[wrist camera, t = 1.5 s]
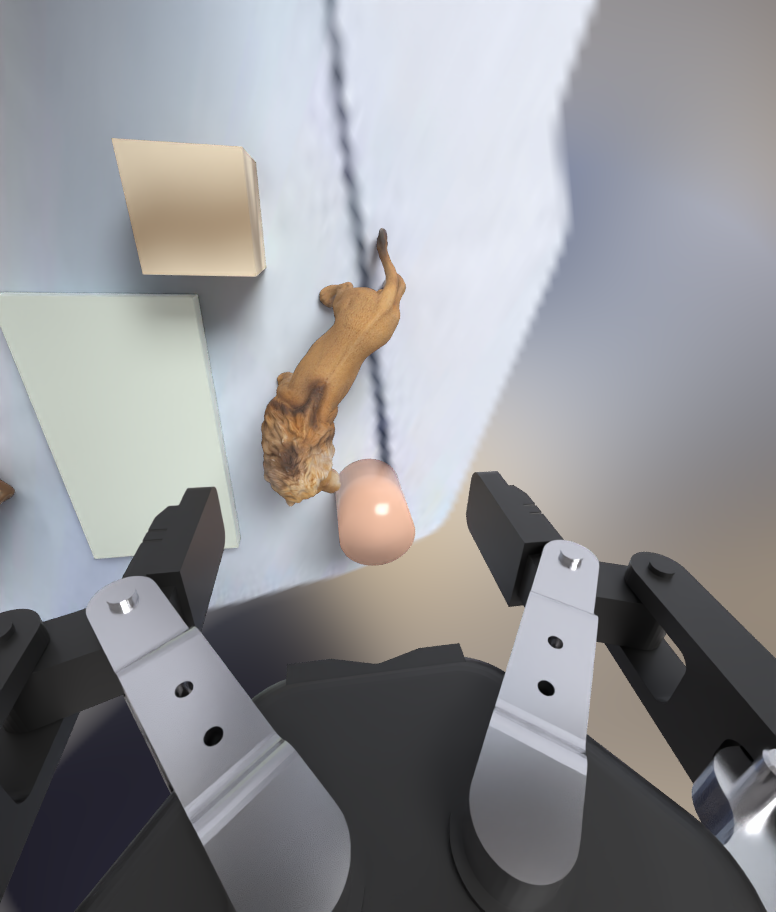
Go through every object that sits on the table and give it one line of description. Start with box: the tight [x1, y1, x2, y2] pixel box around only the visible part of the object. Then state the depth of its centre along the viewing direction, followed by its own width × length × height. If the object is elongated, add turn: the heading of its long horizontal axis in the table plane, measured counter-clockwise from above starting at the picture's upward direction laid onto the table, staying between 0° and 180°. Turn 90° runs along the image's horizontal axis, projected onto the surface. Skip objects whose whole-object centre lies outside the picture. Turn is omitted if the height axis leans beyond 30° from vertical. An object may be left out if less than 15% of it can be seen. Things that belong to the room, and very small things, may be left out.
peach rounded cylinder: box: [335, 459, 415, 565], centre depth 30 cm, size 5×5×6 cm
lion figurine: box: [261, 228, 406, 506], centre depth 23 cm, size 15×5×9 cm, turn 155°
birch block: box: [111, 138, 266, 277], centre depth 20 cm, size 5×5×5 cm
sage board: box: [0, 292, 241, 559], centre depth 27 cm, size 18×10×1 cm, turn 179°
